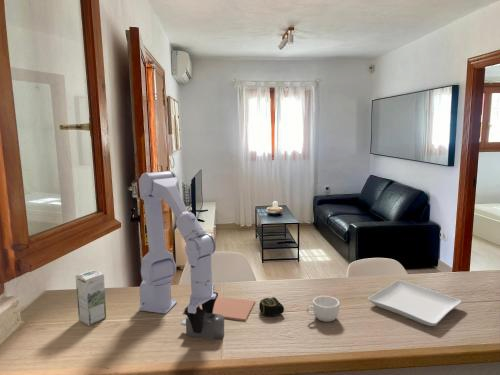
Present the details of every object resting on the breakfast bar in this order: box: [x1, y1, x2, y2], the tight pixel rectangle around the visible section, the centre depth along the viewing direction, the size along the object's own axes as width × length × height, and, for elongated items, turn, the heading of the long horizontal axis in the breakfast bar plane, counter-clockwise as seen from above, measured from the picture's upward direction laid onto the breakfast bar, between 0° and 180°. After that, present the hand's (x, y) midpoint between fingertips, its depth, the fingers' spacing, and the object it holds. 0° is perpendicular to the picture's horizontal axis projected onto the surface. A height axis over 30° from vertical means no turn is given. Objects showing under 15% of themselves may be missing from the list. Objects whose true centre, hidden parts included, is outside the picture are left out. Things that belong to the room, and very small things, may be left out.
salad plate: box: [367, 279, 462, 327], centre depth 114 cm, size 21×21×3 cm
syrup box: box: [75, 269, 107, 327], centre depth 107 cm, size 6×6×14 cm
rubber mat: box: [183, 296, 256, 322], centre depth 114 cm, size 20×12×1 cm, turn 76°
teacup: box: [306, 295, 340, 323], centre depth 107 cm, size 10×8×5 cm
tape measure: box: [258, 296, 285, 317], centre depth 111 cm, size 7×7×4 cm
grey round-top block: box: [180, 313, 225, 341], centre depth 100 cm, size 12×4×5 cm, turn 76°
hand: (202, 325), depth 100 cm, fingers open, 7 cm apart
